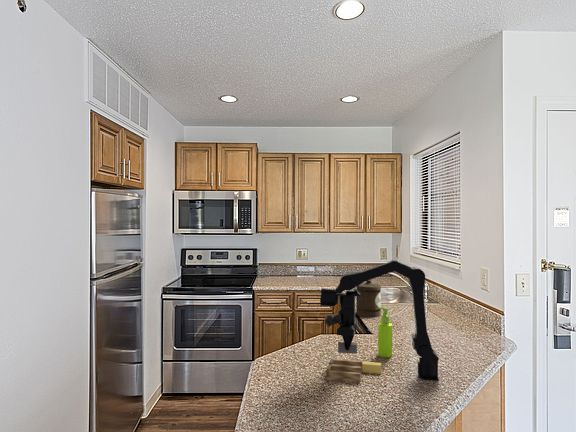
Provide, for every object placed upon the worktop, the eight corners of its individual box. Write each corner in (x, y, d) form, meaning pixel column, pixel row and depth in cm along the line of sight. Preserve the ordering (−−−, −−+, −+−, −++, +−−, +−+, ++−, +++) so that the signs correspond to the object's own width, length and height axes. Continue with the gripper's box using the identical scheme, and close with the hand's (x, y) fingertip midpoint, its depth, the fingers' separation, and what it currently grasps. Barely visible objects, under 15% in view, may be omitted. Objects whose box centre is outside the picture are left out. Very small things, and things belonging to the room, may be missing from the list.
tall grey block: (356, 351, 158) (356, 342, 158) (356, 353, 155) (356, 344, 155) (338, 350, 159) (338, 342, 159) (338, 352, 156) (338, 344, 156)
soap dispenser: (379, 351, 181) (379, 305, 182) (394, 354, 177) (394, 307, 177) (373, 354, 177) (373, 307, 177) (388, 358, 172) (388, 309, 173)
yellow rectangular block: (381, 371, 158) (381, 362, 158) (381, 374, 155) (381, 365, 155) (362, 369, 159) (362, 361, 159) (362, 372, 156) (362, 363, 156)
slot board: (362, 369, 159) (362, 360, 159) (360, 382, 146) (360, 373, 146) (331, 366, 162) (331, 357, 162) (326, 379, 148) (326, 370, 149)
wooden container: (383, 317, 248) (383, 280, 248) (358, 316, 248) (358, 280, 248) (378, 311, 263) (378, 277, 263) (354, 311, 263) (354, 276, 263)
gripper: (329, 301, 168) (329, 340, 168) (322, 311, 150) (322, 354, 150) (357, 303, 166) (357, 342, 165) (353, 312, 148) (353, 357, 147)
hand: (347, 348), depth 157 cm, fingers closed on tall grey block, 3 cm apart
